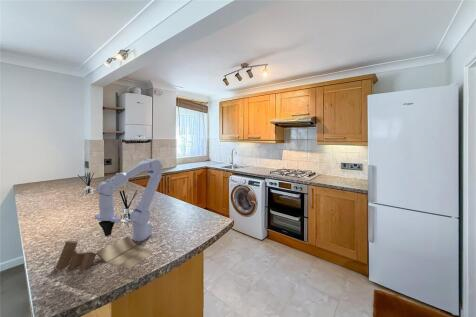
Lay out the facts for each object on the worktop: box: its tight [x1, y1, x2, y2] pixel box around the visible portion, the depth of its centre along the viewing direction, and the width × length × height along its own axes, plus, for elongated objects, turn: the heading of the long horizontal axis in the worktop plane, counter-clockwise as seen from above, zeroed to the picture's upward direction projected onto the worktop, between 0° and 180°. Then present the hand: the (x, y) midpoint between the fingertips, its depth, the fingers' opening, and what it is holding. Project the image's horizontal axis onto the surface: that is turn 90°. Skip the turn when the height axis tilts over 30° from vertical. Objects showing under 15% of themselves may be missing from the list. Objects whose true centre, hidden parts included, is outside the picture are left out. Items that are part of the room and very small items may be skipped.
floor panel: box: [107, 245, 158, 270], centre depth 96 cm, size 16×12×1 cm
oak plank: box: [95, 236, 138, 264], centre depth 99 cm, size 16×7×1 cm
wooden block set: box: [55, 240, 97, 270], centre depth 91 cm, size 18×9×10 cm, turn 66°
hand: (108, 235), depth 101 cm, fingers closed
